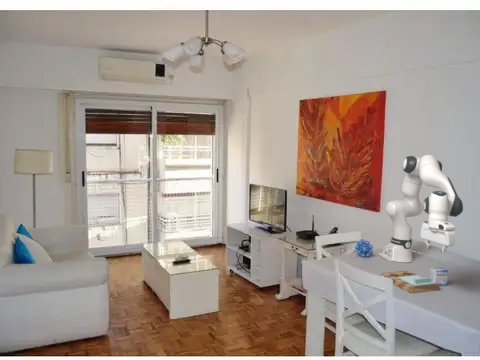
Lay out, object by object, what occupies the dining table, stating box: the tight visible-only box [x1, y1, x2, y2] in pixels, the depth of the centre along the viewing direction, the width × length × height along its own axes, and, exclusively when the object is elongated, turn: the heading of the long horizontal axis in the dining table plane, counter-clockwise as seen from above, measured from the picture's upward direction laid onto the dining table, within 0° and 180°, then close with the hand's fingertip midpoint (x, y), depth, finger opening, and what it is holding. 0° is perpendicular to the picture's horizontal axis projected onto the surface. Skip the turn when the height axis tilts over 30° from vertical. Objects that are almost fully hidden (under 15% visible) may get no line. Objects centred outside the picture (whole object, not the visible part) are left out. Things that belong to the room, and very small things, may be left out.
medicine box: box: [429, 267, 449, 287], centre depth 237 cm, size 8×4×9 cm, turn 105°
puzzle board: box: [380, 270, 441, 294], centre depth 237 cm, size 24×18×3 cm
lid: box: [398, 274, 434, 286], centre depth 232 cm, size 12×12×3 cm
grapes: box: [354, 238, 374, 258], centre depth 286 cm, size 12×7×12 cm, turn 86°
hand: (436, 251), depth 222 cm, fingers open, 8 cm apart
